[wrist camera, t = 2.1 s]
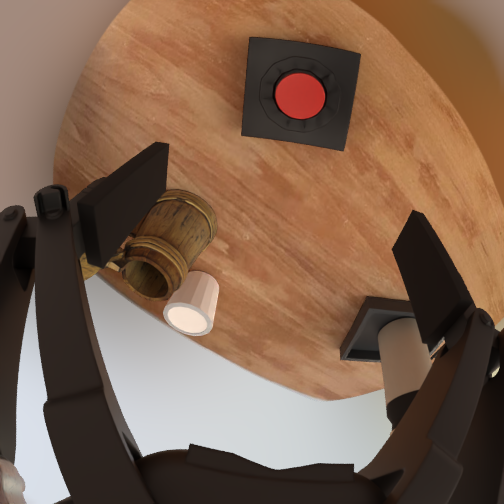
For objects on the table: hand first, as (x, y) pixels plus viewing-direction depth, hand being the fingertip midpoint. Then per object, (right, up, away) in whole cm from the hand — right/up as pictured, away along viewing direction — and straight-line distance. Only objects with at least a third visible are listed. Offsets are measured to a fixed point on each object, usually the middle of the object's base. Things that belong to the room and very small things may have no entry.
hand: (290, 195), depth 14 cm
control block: (+3, +13, +11) cm, 17 cm away
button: (+2, +11, +8) cm, 13 cm away
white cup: (-9, -8, +28) cm, 31 cm away
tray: (+23, -16, +29) cm, 40 cm away
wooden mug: (-12, +3, +21) cm, 25 cm away
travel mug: (+23, -16, +29) cm, 40 cm away
